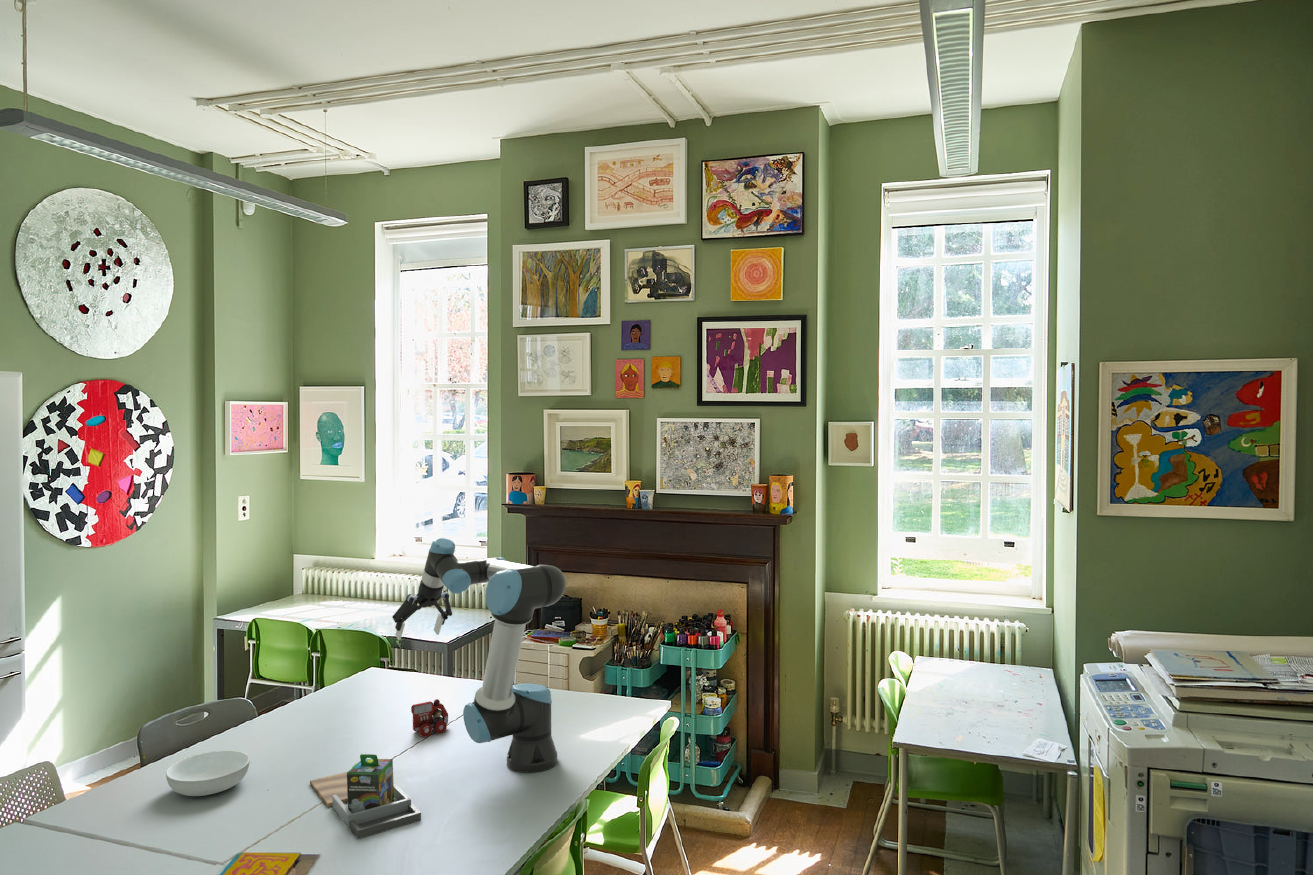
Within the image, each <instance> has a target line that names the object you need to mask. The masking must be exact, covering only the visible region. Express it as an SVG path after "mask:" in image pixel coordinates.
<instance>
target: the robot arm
mask: <svg viewBox="0 0 1313 875" xmlns="http://www.w3.org/2000/svg"><path fill="white" fill-rule="evenodd" d="M455 552H456V544H455V542H454V541H453V540H451V539H450V538H446V537H437V538H435V539H433V541H432V542H431V545H430V547H429V549H428V554H427V557H426V562H425V565H424V570H423V572H422V576H421V580H420V582H419V586H418V593H417V594H416V595H412V593H408V594H407V597H406V599H405V600H404V602H403V603H402V604H401V605H400V606H399V608H398V609H397V611H395V613H394V614H393V615H392V616H391V618H392V620H393V621H394V623H396V624H395V626H394V627H395V630H396V631H395V637H396V639H397V640H398V641H401V640H402V637H403V636H402V635H403V633H404V629H405V625H406V623H405V622H406V621H407V620H408V619H409V618H410V617H411V616H413V615H414V613H416V612H418V611H419V610H421V609H422V608H431V607H433V606H434V607H435V608H436V609H437V611H438V614H437V617H436V620H435V623H434V628H433V631H434V633H435V634H436V635H437V636H439V635H440V632H441V630H442V626H443V625H445V622H446V620H448V619H449V617H451V616H453V610H452V607H451V604H450V594H449V593H448V591H449V592H450V593H452V594H455V595H459V594H462V593H463V592H466V591H467V590H468V588H470V586H472V585H479V584H485V583H487V584H486V589H485V598H486V600H485V602H486V606H487V608H488V611H489V612H490V614H491V616H492V618H493V619H494V622H493V628H492V632H491V633H492V634H491V639H490V644H489V648H488V649H489V650H488V654H487V658H486V660H487V661H486V664H485V671H484V674H483V675H484V676H483V680H482V686H481V687H479V688H478V689H477V690H476V691H475V694H474V697H473V698H474V699H473V702H468V703H466V704H465V705H464V708H463V714H462V716H463V717H462V718H463V723H464V726H465V730H466V732H467V734H468V736H469V737H470V739H471V741H473V742H474V743H476V744H483V743H484V744H485V743H490V742H493V741H495V740H496V741H497V740H499V739H503V738H506V737H509V736H512V738H511V742H510V745H509V749H508V752H507V755H506V767H507V768H509V770H512V771H515V772H519V773H536V772H537V773H538V772H543V771H547V770H549V769H551V768H553V767H555V766H556V765H557V764H558V752H557V749H556V746H555V742H554V740H553V736H552V703H553V701H552V693H551V690H550V689H549V688H548V687H547V686H545V685H543V684H536V683H526V682H525V683H517V684H515V683H514V682H515V678H516V672H517V667H518V662H519V658H520V654H521V649H522V644H523V638H524V633H525V628H526V625H527V624H530V622H531V621H533V616H534V611H535V609H540V608H545V607H549V606H552V605H554V604H556V603H557V602H558V601H559V600H561V599H562V597H563V595H565V592H566V588H567V582H566V580H567V579H566V576H565V574H564V572H562V570H561V569H560V568H559V567H556V566H554V565H552V564H551V565H548V564H538V565H536V566H533V565H529V564H524V563H522V564H521V563H519V562H518V563H517V562H512V561H507V560H506V558H504V557H501V556H499V557H497V556H496V557H494V556H493V557H491V558H482V559H476V560H475V559H474V560H465V561H459V560H458V559H457V557H456V556H455V554H454V553H455ZM444 587H445V588H447V590H448V591H447V590H446V589H445V590H444ZM440 599H442V601H443V604H444V607H445V610H443V608H442V607H441V605H440V604H439V600H440Z"/></svg>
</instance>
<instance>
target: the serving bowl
mask: <svg viewBox="0 0 1313 875" xmlns="http://www.w3.org/2000/svg"><path fill="white" fill-rule="evenodd" d="M250 763H251V761H250V756H249V754H247V753H245V752H242V751H239V750H217V751H208V752H202V753H199V754H198V753H197V754H195V755H191V756H187V757H186V758H182V759H180V760H178V761H177V762H174V763H172V764H171V765H170V766H169V767H168V768H167V769H166V772H165V778H166V781H167V784H168V786H169V787H170V789H171V790H172V791H174V792H175V793H177V794H180V795H182V796H187V797H188V796H189V797H201V796H209V795H214V794H217V793H221V792H224V791H226V790H228V789H231V788H232V787H234V786H235V785H237V784H238V783H239V782H241V780H243V779H244V778H245V777H246V774H248V773H247V772H248V770H249V767H250Z"/></svg>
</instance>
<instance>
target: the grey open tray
mask: <svg viewBox="0 0 1313 875" xmlns="http://www.w3.org/2000/svg"><path fill="white" fill-rule="evenodd" d="M394 800H396V801H393V802H392V803H389V804H385V805H382V806H378V807H375V808H371V809H368V810H364V811H360V812H357V813H353V814H352V813H351V812H350V811H349V809H348V806H346V804H345V803H343V802H342V801H341V800H340V799H339V797H338V796H337V795H333V796H332V806H331V807H332V808H333V810H334V811H335V813H337V814H338V816H339V817H340V818H341V820H342V821H343V822H344V824H346V826H347V827H348V829H349V830H350V831H351V832H352V833H353V835H354V836H355V838H357V839H359V840H360V839H363V838H367V837H370V836H373V835H376V834H379V833H383V832H386V831H390V830H393V829H397V828H400V827H402V826H407V825H409V824H413V823H417V822H419V821H422V812H421V811H420V810H419V809H418V807H416V806H415V805H414V804H413V803H412V798H411V797H410V796H409V795H408V794H407V793H405V792H404V791H403V789H402V788H400V787H399V785H397V784H396V783H395V782H394Z"/></svg>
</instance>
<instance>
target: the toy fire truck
mask: <svg viewBox="0 0 1313 875" xmlns="http://www.w3.org/2000/svg"><path fill="white" fill-rule="evenodd" d="M410 712H411V714H412V731H413V732H416V733H419V735H420V736H421V737H423V738H427V737H429V736H430V735H431V734H432V732H433V730H434V732H435V733H437V734H443V733H445V732H446V731H447V726H448V724H449V713H448V711H447V709H446V707H445V706H444V704H443V703H441V702H440V699H437V698H435V699H434V700H433V702H432V701H431V700H430V701H425V702H420V703H416V704H413V705H411V709H410Z"/></svg>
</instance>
